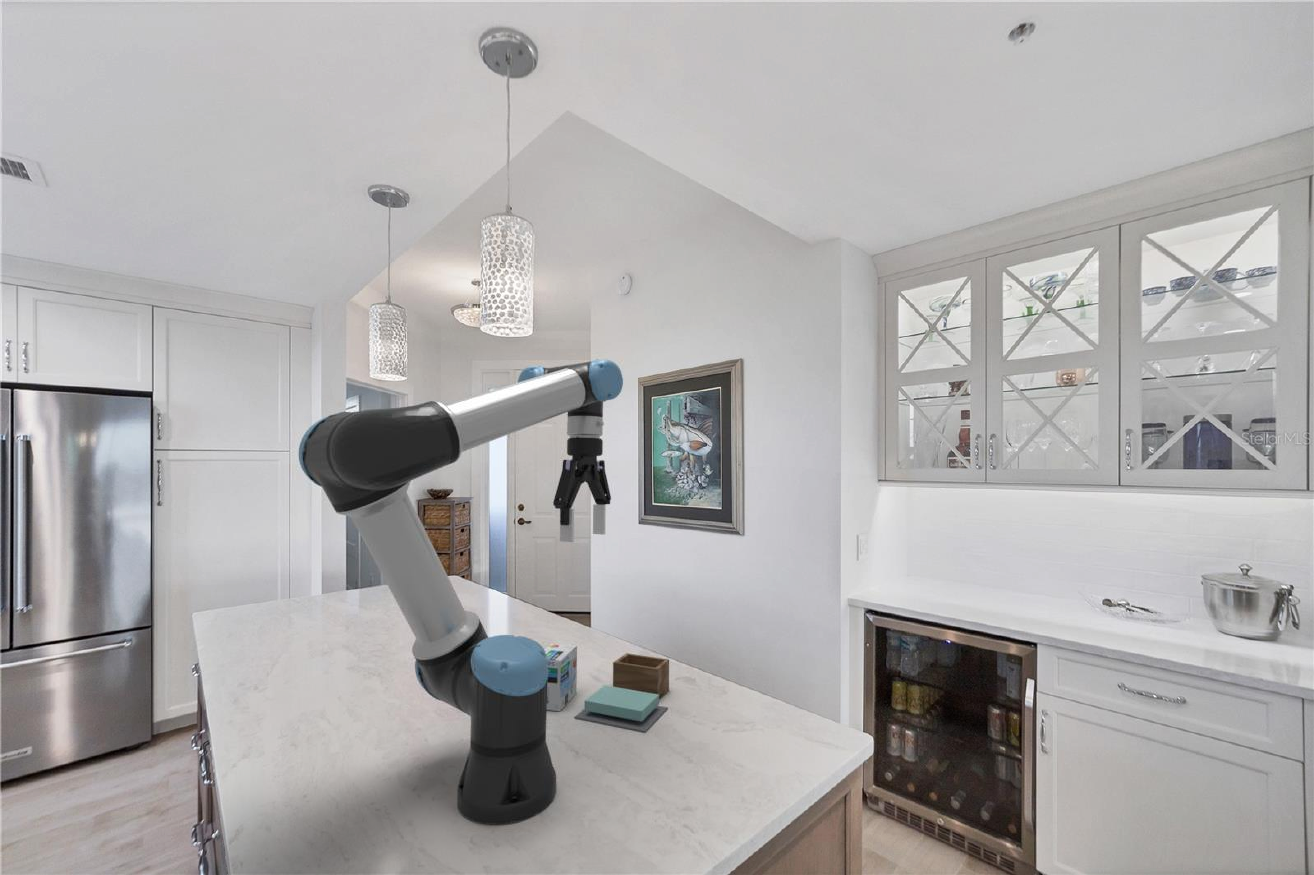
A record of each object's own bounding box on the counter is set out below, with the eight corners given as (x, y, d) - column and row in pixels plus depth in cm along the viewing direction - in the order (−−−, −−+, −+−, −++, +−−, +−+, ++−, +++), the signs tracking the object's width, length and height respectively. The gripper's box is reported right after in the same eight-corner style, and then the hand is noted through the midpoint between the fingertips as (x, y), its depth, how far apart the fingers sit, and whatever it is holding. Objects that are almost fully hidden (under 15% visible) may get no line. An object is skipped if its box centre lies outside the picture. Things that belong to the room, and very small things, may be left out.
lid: (641, 726, 114) (641, 711, 114) (584, 715, 119) (584, 700, 119) (658, 709, 122) (659, 694, 123) (604, 699, 127) (604, 685, 127)
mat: (645, 732, 112) (645, 731, 112) (574, 718, 118) (574, 716, 118) (668, 708, 123) (668, 707, 123) (601, 696, 129) (601, 695, 129)
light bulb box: (560, 712, 121) (561, 660, 122) (530, 709, 123) (531, 658, 123) (577, 692, 132) (578, 645, 132) (549, 690, 133) (550, 643, 133)
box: (657, 701, 127) (657, 669, 127) (612, 693, 131) (613, 662, 131) (668, 690, 133) (669, 659, 134) (626, 683, 138) (626, 653, 138)
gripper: (569, 434, 110) (568, 546, 109) (626, 439, 133) (625, 532, 132) (536, 434, 113) (534, 543, 112) (597, 439, 136) (596, 530, 135)
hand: (583, 537), depth 122 cm, fingers open, 13 cm apart
